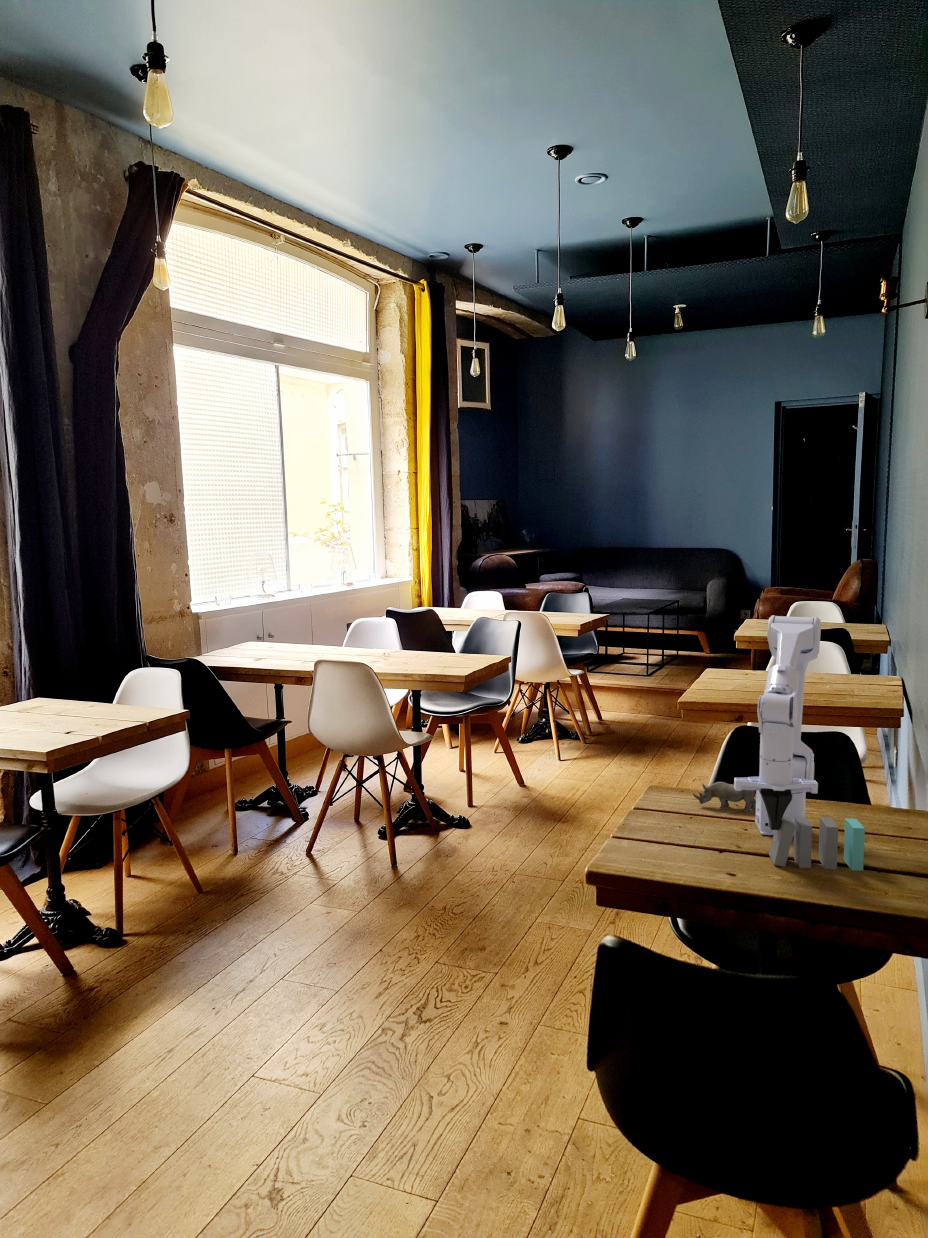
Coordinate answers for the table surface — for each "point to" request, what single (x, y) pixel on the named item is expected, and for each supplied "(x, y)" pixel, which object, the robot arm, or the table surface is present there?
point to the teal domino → (854, 844)
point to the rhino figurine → (727, 795)
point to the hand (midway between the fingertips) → (774, 828)
